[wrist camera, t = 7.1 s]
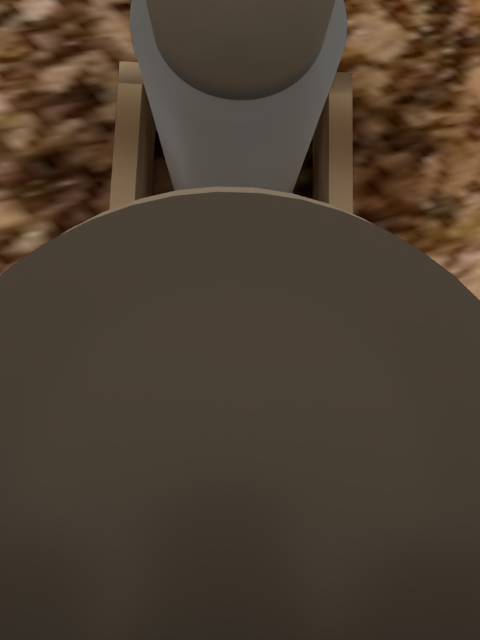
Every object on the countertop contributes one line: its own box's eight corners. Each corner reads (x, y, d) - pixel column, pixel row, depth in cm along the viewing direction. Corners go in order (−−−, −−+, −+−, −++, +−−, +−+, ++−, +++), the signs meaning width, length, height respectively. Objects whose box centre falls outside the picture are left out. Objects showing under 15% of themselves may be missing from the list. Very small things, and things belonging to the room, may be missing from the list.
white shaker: (317, 358, 15) (749, 273, 3) (271, 499, 14) (559, 1268, 2) (184, 310, 15) (-6, 10, 3) (131, 448, 14) (-440, 881, 2)
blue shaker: (302, 202, 21) (407, -36, 9) (242, 280, 21) (265, 139, 8) (222, 144, 22) (218, -164, 9) (160, 219, 21) (68, -4, 9)
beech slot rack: (332, 507, 20) (355, 536, 16) (111, 503, 19) (86, 531, 16) (332, 120, 22) (352, 72, 19) (136, 111, 22) (119, 61, 18)
